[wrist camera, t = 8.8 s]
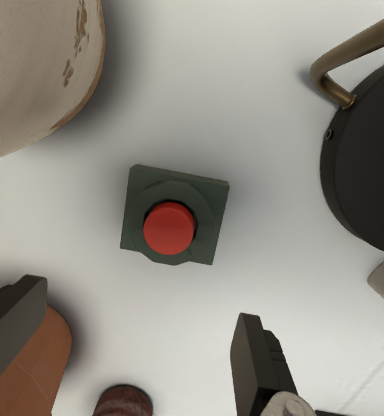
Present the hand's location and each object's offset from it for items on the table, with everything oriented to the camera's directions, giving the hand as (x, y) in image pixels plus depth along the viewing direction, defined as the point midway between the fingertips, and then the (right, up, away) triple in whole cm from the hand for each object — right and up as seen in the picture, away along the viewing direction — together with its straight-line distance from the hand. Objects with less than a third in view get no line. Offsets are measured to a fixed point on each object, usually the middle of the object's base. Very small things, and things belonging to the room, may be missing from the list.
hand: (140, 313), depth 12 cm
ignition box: (+1, +4, +14) cm, 15 cm away
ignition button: (+1, +3, +11) cm, 11 cm away
